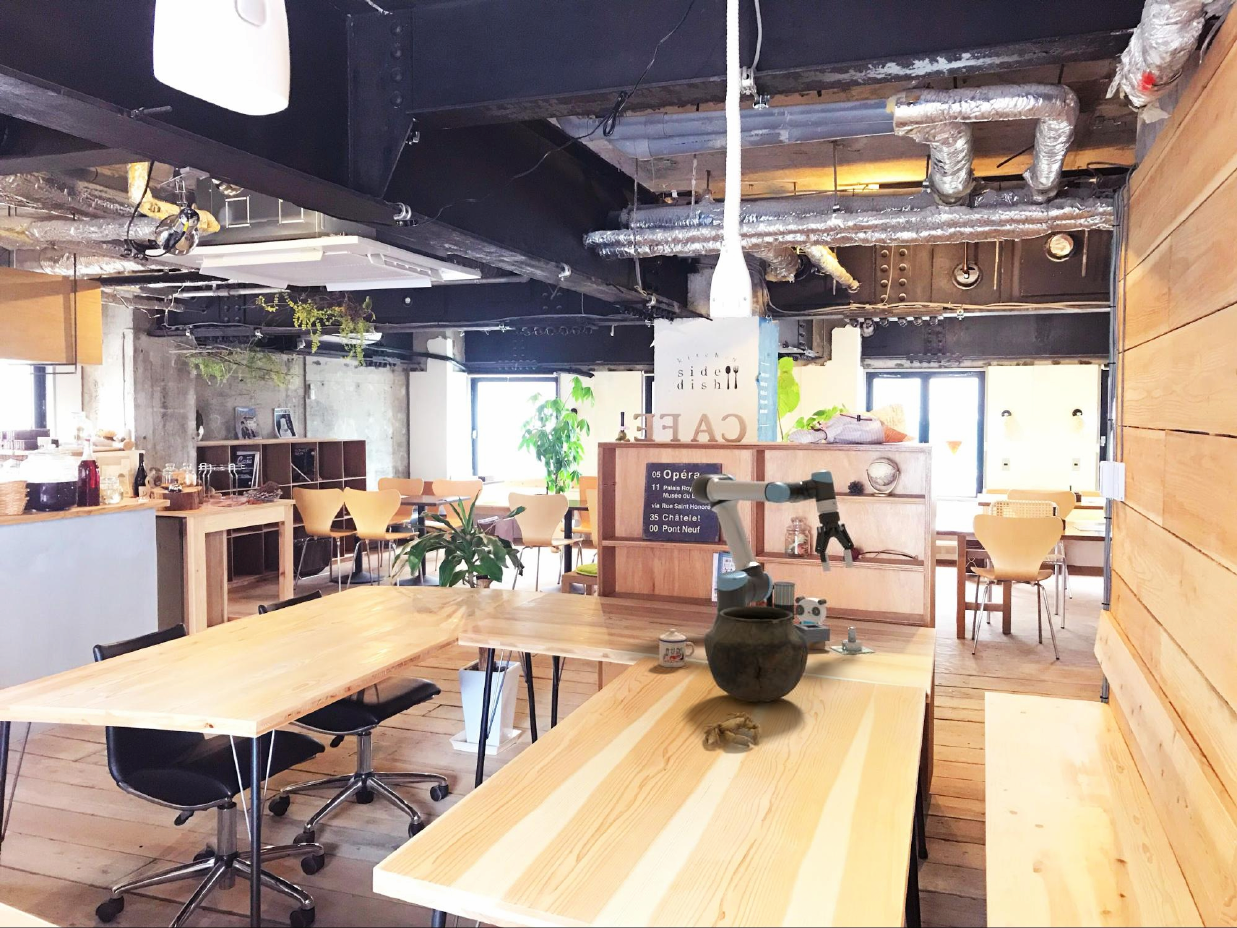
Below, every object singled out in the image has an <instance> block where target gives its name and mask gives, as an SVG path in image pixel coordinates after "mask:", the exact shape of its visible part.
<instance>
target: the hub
mask: <svg viewBox="0 0 1237 928" xmlns="http://www.w3.org/2000/svg"><path fill="white" fill-rule="evenodd" d="M828 648H829V649H832V650H833V651H836V652H839V653H840V654H842V653H843V655H853V654H854V655H855V654H858V655H859V653H860V654H874V653H876V651H874V650H872V649H870V648H868V647H865V646H863V641H861V640H857V627H855V626H848V627H847V639H843V640H841V645H834V646H833V645H832V646H831V645H830V646H828Z"/></svg>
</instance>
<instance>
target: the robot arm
mask: <svg viewBox="0 0 1237 928" xmlns="http://www.w3.org/2000/svg"><path fill="white" fill-rule="evenodd" d="M832 475H833V474H832V472H831V471H830V470H827V469H826V470H819V471H816V472H812V473H811V475H810V478H809V479H807V480H801V481H757V480H756V481H754V480H753V481H752V480H750V481H749V480H737V479H736V478H735V477H734V476H733V475H731V474H726V473H716V474H715V473H714V474H713V473H710V474H709V473H708V474H707V473H706V474H705V473H704V474H701V475H699V476H697V477H696V478H695V479H694V480H693V481H692V483H691V494H692V496H693V497H694V499H695V500H696V501H697V502H700V503H703V504H709V506H710V509H711V511H712V512H714V513H716V514H717V517H718V521H719V524H720V527H721V530H722V534H723V535H724V539H725V541H726V545H727V548H728V551H729V553H730V557H731V559H732V563H733V564H734V565H733V567H734V570H732V571H725V572H723V573H720V574H719V575H718V576H717V581H716V615H715V618H714V621H713V623H712V626H711V629H712V628H713V627H714V626H715V625H716V624H717V622H718V621H719V613H720V612H721V611H722V610H724V609H728V608H734V607H745V606H748V604H753V603H760V602H762V601H765V600H766V598H768V597H769V596H770V594H771V591H772V589H773V584H774V582H773V579H772V577H771V576H770V574H769V573H768V572H766V571H764V570H763V567H762V565H761V563H759V562H757V561H756V558H755V555H754V553H753V552H754V551H753V550H752V546H751V543H750V541H749V538H748V536H747V531H746V529H745V526H744V523H743V521H742V517H741V515H740V512H739V509H738V504H739V501H742V502H743V501H746V502H766V503H767V502H769V503H774V504H782V503H791V504H797V503H800V502H804V501H805V502H807V501H808V500H809V501H811V500H815V504H816V511H817V513H818V523H819V524H820V526H816V538H815V546H814V552H815V553H816V554H817V555H819V559H820V562H821V565H822V571H823V572H825V573H826V572H831V565H830V560H829V553H828V552H827V549H828V545H829V544H830V543H829V542H830V540H831V539H832V538H834V539H836V540H837V542H838V543H839V544H840V545H841V547H842V549H844V550H843V556H844V557H843V558H844V562H845V568H849V569H850V568H854V563H853V553H852V550H853V549H854V547H855V544H854V542H853V540H852V539H851V536H850V534H849V532H848V530H847V528H846V524H845V523H839V522H840V521H841V516H840V512H839V511H838V510H839V508H838V503H837V497H836V491H835V484H834V480H833V476H832ZM773 590H774V589H773Z"/></svg>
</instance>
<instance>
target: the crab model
mask: <svg viewBox="0 0 1237 928" xmlns="http://www.w3.org/2000/svg"><path fill="white" fill-rule="evenodd" d="M725 715H726V716H731V715H732V717H729V718H727V719H725V721H723V722H720V721H719V722H716V723H714V724H706V725H705V727H707V729H706V730H705V731H704V733H703V734H704V735H705V743H706V744H708V743H709V739H710V738H709V737H710V736H711V734H712V733H714V738H715V741H716V742H717V744H718V746H719V747H720V748H723V745H722V743H721V742H720V737H719V736H723V735H724V736H725V738H726V740H728V741H730V742H731V743H733V744H735V745H740V746H743V747H748V748H749V747H750V746H751V745H755V744H757V742H758V740H759V739H760V738H761V734H762V726H761V725H760V724H758V723H755V722H754V719H753V718H752V716H751V715H750V714H747V713H746V712H744V711H743V712H742V713H741V714H740V712H731V713H730V712H729V713H727V714H725ZM747 721H748V722H747ZM743 729H745V730H747V732H748V733H749V732H750V731H751V730H753V734H752V738H749V737H747V736H745V735H741V734H734V733H732V732H733V731H739V730H743Z"/></svg>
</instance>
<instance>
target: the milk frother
mask: <svg viewBox="0 0 1237 928" xmlns="http://www.w3.org/2000/svg"><path fill="white" fill-rule="evenodd" d="M795 586H796V583H795V582H790V581H774V582H773V589H772V591H771V594H770V596H769V597H768V598H766V599H765V600H766V601H765V604H766V606H765V607H772V608H778V609H782V610H785V611H788V612H790V613H792V614H793V617H792V620H794V619H795V618H794V617H795V592H796V590H795ZM793 618H794V619H793Z"/></svg>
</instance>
